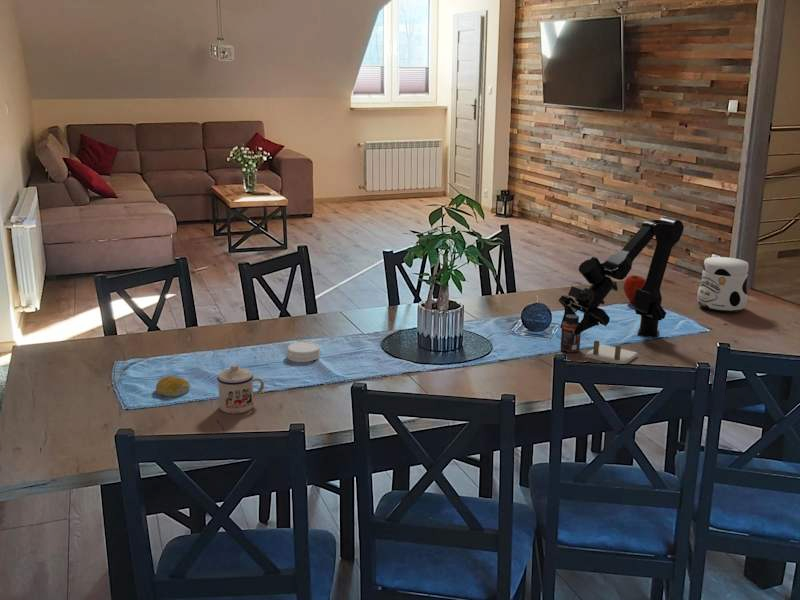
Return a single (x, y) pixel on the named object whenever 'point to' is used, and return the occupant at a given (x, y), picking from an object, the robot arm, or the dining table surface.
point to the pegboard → (610, 353)
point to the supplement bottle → (570, 334)
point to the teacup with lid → (237, 390)
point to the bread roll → (172, 386)
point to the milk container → (723, 284)
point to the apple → (633, 286)
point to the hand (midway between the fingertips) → (567, 330)
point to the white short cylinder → (303, 352)
